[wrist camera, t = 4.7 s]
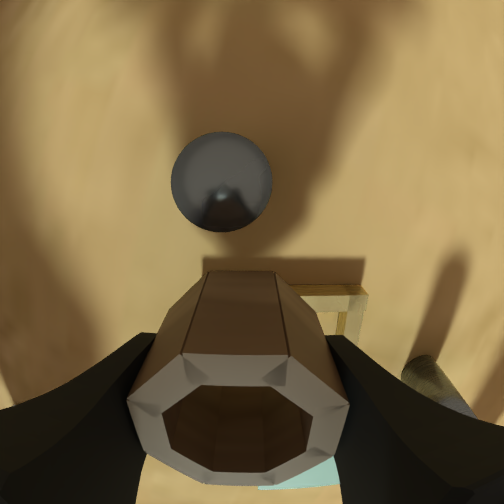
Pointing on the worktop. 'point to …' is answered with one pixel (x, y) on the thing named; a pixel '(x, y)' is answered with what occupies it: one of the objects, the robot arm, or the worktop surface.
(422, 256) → the worktop surface
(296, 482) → the pad
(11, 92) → the worktop surface
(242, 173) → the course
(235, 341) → the octagonal hollow tube
